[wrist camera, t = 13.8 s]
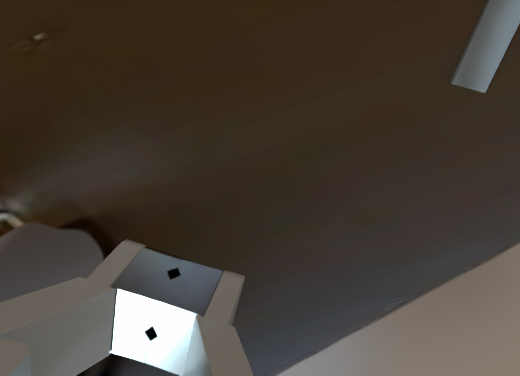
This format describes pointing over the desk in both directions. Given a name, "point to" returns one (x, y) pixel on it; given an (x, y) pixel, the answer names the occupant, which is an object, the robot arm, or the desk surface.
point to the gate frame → (487, 44)
